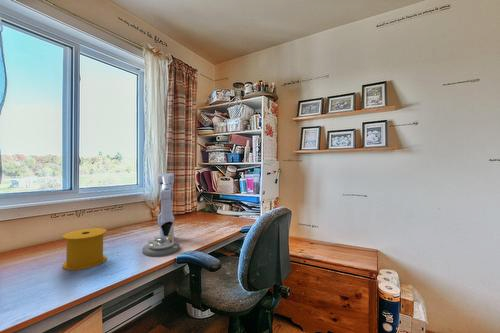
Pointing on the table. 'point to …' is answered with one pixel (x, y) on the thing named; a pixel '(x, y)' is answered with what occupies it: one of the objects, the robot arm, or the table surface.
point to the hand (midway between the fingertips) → (166, 235)
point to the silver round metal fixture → (161, 243)
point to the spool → (84, 248)
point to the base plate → (160, 252)
